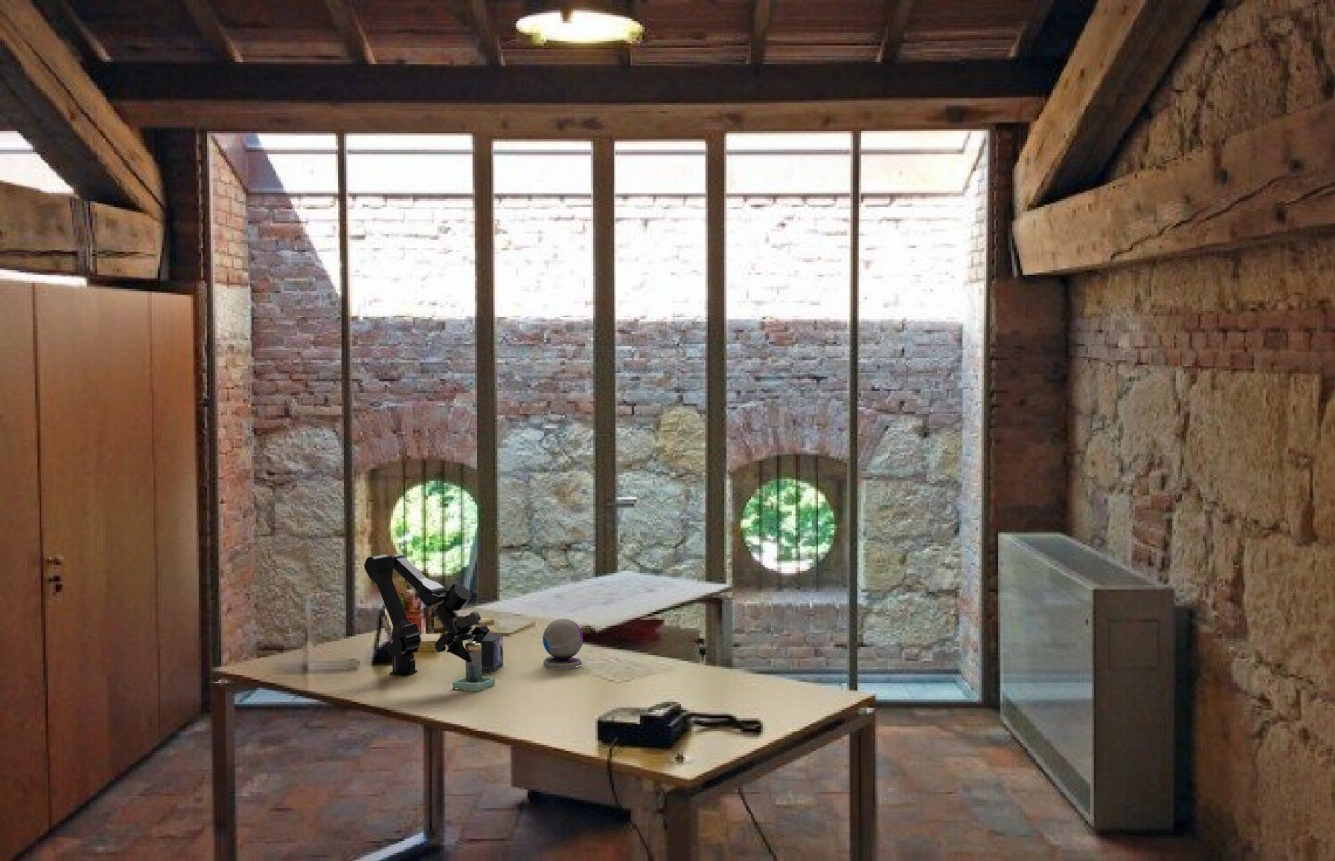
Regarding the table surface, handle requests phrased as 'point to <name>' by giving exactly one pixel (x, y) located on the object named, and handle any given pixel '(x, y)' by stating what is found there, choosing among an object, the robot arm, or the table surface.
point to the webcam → (562, 644)
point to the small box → (492, 652)
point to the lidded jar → (474, 662)
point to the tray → (474, 684)
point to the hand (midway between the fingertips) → (476, 660)
